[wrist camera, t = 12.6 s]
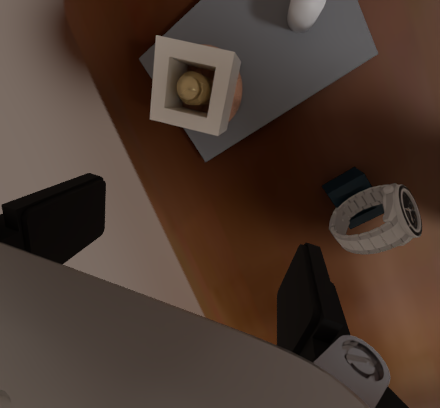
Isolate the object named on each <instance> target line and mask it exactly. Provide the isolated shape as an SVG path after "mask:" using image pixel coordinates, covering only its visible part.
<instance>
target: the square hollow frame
mask: <svg viewBox="0 0 440 408" xmlns="http://www.w3.org/2000/svg"><path fill="white" fill-rule="evenodd" d="M188 65H189V66H193V67H198V68H202V69H207V70H211V71H215V75H214V81H213V87H212V92H211V98H210V104H209V110H208V113H206V112H201V111H197V110H193V109H189V108H185V107H182V106H183V101H182V100H181V99H180V97H179V95H178V92H177V82H178V80H179V78H180V77H181V76H182V75H183V74H184V73H186V72H187V67H188ZM240 65H241V61H240V59H239V58H238V56H237V55H236V53H235V52H233V51H228V50H224V49H219V48H214V47H210V46H205V45H200V44H196V43H191V42H186V41H182V40H177V39H172V38H168V37H163V36H158V35H156V42H155V55H154V69H153V82H152V95H151V108H150V120H155V121H159V122H163V123H167V124H171V125H175V126H179V127H183V128H187V129H191V130H195V131H199V132H203V133H207V134H211V135H216V136H219V135H220V134H222V133H223V132H225V131H226V130H227V127H228V122H229V117H230V112H231V108H232V103H233V98H234V94H235V89H236V84H237V79H238V75H239V70H240Z"/></svg>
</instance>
